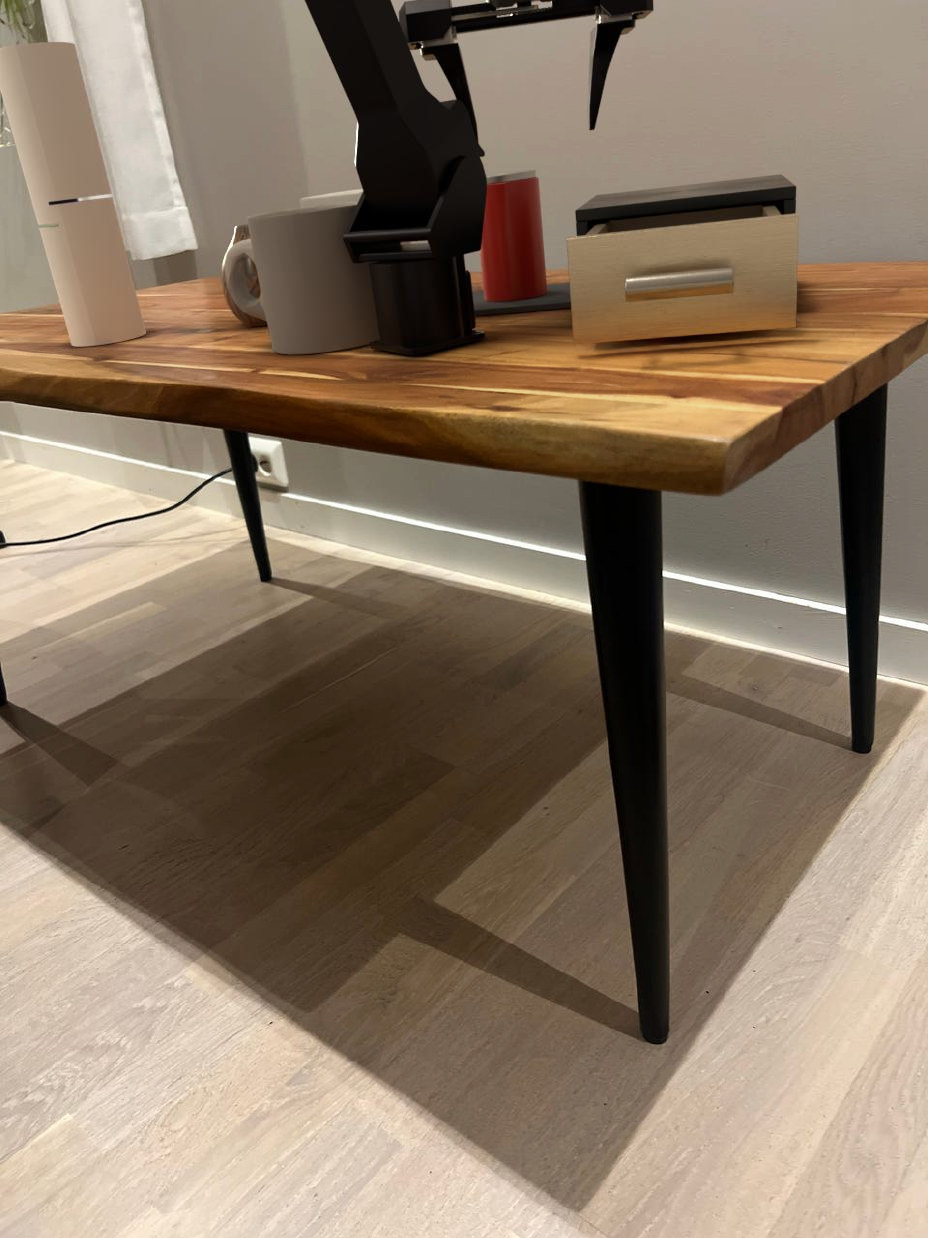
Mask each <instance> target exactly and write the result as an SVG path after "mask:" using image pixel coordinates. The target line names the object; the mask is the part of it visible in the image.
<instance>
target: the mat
mask: <svg viewBox="0 0 928 1238" xmlns="http://www.w3.org/2000/svg"><path fill="white" fill-rule="evenodd" d="M472 292H473V301H474V311H475V317H481V316H482V317H484V316H493V315H494V316H495V315H505V314H516V313H528V312H540V311H551V310H553V311H554V310H564V309H571V298H570V284H569V281H567V282H565V281H564V282H556V283H555V282H554V283H547V293H546V294H545V295H542V296H539V297H535V298H531V299H525V300H518V301H508V302H489V301H486V300H485V299H484V290H483V289H480V290H472Z"/></svg>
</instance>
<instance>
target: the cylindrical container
mask: <svg viewBox="0 0 928 1238" xmlns="http://www.w3.org/2000/svg"><path fill="white" fill-rule="evenodd" d="M0 95H1V99H2V101H3V105H4V108H5V113H6V116H7V120H8V122H9V126H10V130H11V133H12V137H13V141H14V144H15V147H16V148H15V149H16V151H17V155H18V158H19V162H20V166H21V169H22V173H23V175H24V176H23V177H24V180H25V183H26V187H27V190H28V194H29V198H30V201H31V205H32V209H33V212H34V215H35V219H36V222H37V225H38V226H40V225H48V226H41V227H38V230H39V232H40V233H39V234H40V237H41V241H42V244H43V248H44V251H45V254H46V258H47V262H48V265H49V269H50V272H51V276H52V280H53V283H54V287H55V291H56V294H57V299H58V301H59V305H60V310H61V312H62V315H63V320H64V323H65V326H66V331H67V333H68V337H69V341H70V345H71V347H77V348H79V347H81V348H82V347H83V348H84V347H94V346H103V345H109V344H115V343H120V342H125V341H129V340H134V339H137V338H139V337H142V336H145V335H146V334H147V330H146V327H145V322H144V319H143V314H142V310H141V306H140V302H139V298H138V295H137V291H136V286H135V282H134V278H133V274H132V270H131V265H130V262H129V258H128V253H127V249H126V246H125V242H124V238H123V235H122V230H121V226H120V221H119V218H118V213H117V209H116V205H115V201H114V197H113V196H109V197H101V198H92V199H85V200H79V199H83V198H89V197H90V198H91V197H98V196H106V195H112V189H111V184H110V180H109V177H108V172H107V168H106V165H105V164H106V163H105V160H104V156H103V153H102V152H103V151H102V149H101V144H100V141H99V136H98V133H97V128H96V125H95V124H96V123H95V121H94V117H93V112H92V108H91V104H90V99H89V96H88V92H87V88H86V83H85V80H84V74H83V72H82V67H81V63H80V59H79V55H78V50H77V47H76V43H73V42H67V41H43V42H41V41H40V42H30V43H29V42H28V43H20V44H13V45H7V46H1V47H0ZM50 224H54V225H50Z"/></svg>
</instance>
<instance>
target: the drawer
mask: <svg viewBox="0 0 928 1238" xmlns="http://www.w3.org/2000/svg"><path fill="white" fill-rule="evenodd" d="M799 227H800V214H798V213H797V212H796V214H786V215H781V213H780V212H779V211H778V209H777V208H776V207H775V205H774V204H773V203H772V202H770V203H760V204H751V205H742V206H732V207H723V208H713V209H704V210H695V211H685V212H676V213H667V214H657V215H648V216H639V217H629V218H620V219H611V220H601V221H599V222H598V223H597V224H596V225H595V226H594V227H593V228H592V229H591V230H590V231H589V232H588V233H587V234H586V235H584V236H577V235H575V236H569V237H567V238H566V253H567V267H568V282H569V284H570V298H571V308H570V312H571V325H572V327H571V328H572V340H573V345H582V344H583V345H584V344H596V343H610V342H623V341H624V342H625V341H635V340H650V339H663V338H674V337H689V336H699V335H700V336H701V335H712V334H713V335H714V334H726V333H727V334H728V333H741V332H752V331H753V332H754V331H765V330H777V329H791V328H796V327H797V307H798V305H797V304H798V302H797V301H798V267H799V265H798V263H799V233H800V232H799V231H800V229H799Z"/></svg>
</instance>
